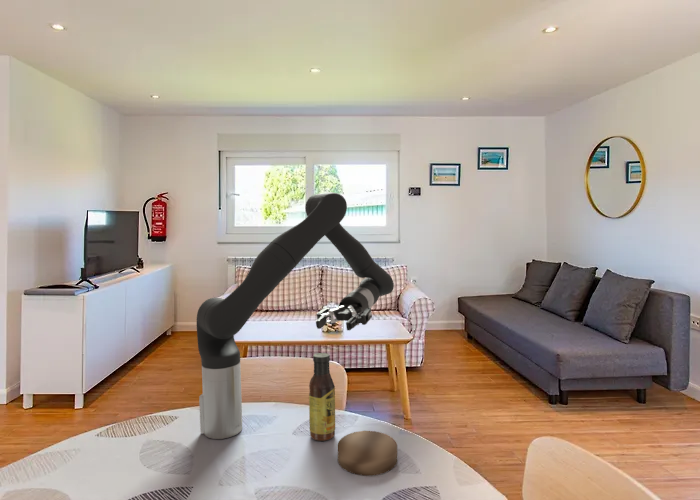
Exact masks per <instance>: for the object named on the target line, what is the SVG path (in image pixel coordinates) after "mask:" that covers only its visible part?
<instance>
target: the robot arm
mask: <svg viewBox="0 0 700 500" xmlns="http://www.w3.org/2000/svg"><path fill="white" fill-rule="evenodd" d="M304 208H305V213H306V217H305V219H303V220H302V221H300V222H299V223H298V224H296V225H294V226H293V227H291V228H290V229H288V230H286V231H284V232H282V233H280V235H278V236H277V237H275V238H274V239H273V240H272V241H271V242H270V243H268V245H267V246H266V247H264V249H262V251H261V252H259V254H258V255H257V256H256V258H255V259H254V261H253V262H252V265H251V267H250V268H249V271H248V273H247V275H246V277H245V278H244V279H243V281H242V282H241V283H240V285H238V286H237V288H235V289H234V290H233V291H232V292H231V293H230V294H229V295H228V296H226V297H225V298H222V297H211V298H207V299H206V300H204V301H203V302H202V303H201V305H199V307H198V310H197V313H196V335H197V337H196V338H197V349H198V354H199V356H200V361H201V378H202V379H201V381H202V383H201V387H202V394H200V395H199V396H198V398H199V399H198V401H199V402H198V403H199V427H200V434H202V435H204V436H205V437H206V438H207V439H208V438H209V439H213V440H222V439H228V438H231V437H234V436H236V435H238V434H240V433H241V431H242V430H243V405H242V403H243V401H242V371H241V369H242V368H241V352H240V349H239V347H238V345H237V344H236V340H235V335H237V334H238V333H240V330H242V328H243V327H245V326H244V325H246V323H247V322H248V321H249V319H250V318H251V317H252V316H253V315H254V312H255V311H256V310H257V309H258V308H259V306H260V305H261V304H262V302H263V301H265V299H266V298H267V297H268V296H270V294H271V293H272V292H273V291H274V290H275V289H276V288H277V287H278V285H279V284H280V283H281V282H283V281H284V280H285V278H286V277H288V275H289V274H291V272H292V271H293V270H294V269H295V268H296V267H297V265H299V263H300V262H301V261H302V260H303V259H304V258H305V256H307V254H308V253H309V252H310V251H311V250H312V249H313V248H314V247H315V246H316V245H317V244H318V242H320V240H321V239H323V238H324V237H325V238H327V239H328V241H330V243H331V244H332V245H333V246H334V247H335V249H337V251H338V252H339V253H340V255H341V256H342V257H343V258H344V260H345V261H346V263H347V264H348V266H349V267H350V269H351V270H352V271H353V272H354V274H355V275H356V276H357V277H358V278H361V281H360V282H359V285H358V287H357V288H355V289H353V290H351V292H349V293H348V294H347V295H345V296H344V297H343V298H342V299H341V300H340V302H339V304H338V306H337V307H333V308H332V309H331V307H330V306H325V307H323V308H322V309H321V310H320V311H318V312H316V320H315V326H316V328H317V330H320V329H322V328H323V327H324V326H325V325H327V324H329V323H331V324H334V323H337V322H344V321H345V322H346V323H345V325H346V331H351V330H352V329H354V328H355V327H356V326H359V325H360V324H361V325H363V326H365V325H367V324H368V322H369V321H370V320H371V319H372V318H373V314H372V307H373V306H374V305H375V304H376V303H377V301H379V298H380V297H383V296H387V295H389V294H391V293H392V292H393V291H394V288H395V287H394V286H395V285H394V280H393V278H392V275H390V274H389V273H388V272H387V271H386V270H385V269H383V268H382V267H381V266H380V265H379V264H378V263H376V262H375V261H374V259H373V258H372V256H371V255H370V253H369V251H368V250H367V249H366V248H365V247H364V245H363V244H362V243H361V242H360V241H359V240H358V239H357V238H355V237H354V236H353V235H352V234H351V233H350V232H348V231H347V230H346V229H345V228H344V226H343V225H342V224H341V222H342V221H343V219H344V218H345V216H346V213H347V211H348V210H347V209H348V204H347V200H346V198H345V197H344V196H343V195H341V194H340V193H337V192H331V191H330V192H322V193H316V194H313V195H311V196H309V197H308V198H307V200H306V202H305V206H304ZM334 317H335V318H334Z"/></svg>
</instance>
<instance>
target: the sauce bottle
mask: <svg viewBox="0 0 700 500" xmlns="http://www.w3.org/2000/svg"><path fill="white" fill-rule="evenodd" d="M330 360H331V357H330V354H329V353H326V352H318V353H314V354H313V356H312V362H313V375H312V376H311V378H310V381H309V386H308V387H309V394H308V406H309V407H308V410H309V412H308V413H309V414H308V415H309V418H308V419H309V432H310V433H309V435H310V437H311V439H312V440H314V441H319V442H324V441H329V440H332V439H333V438H334V436H335V432H336V390H335V389H336V386H335V384H334V382H333V379H332V375H331V371H330Z"/></svg>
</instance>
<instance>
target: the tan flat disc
mask: <svg viewBox="0 0 700 500" xmlns="http://www.w3.org/2000/svg"><path fill="white" fill-rule="evenodd" d="M337 462H338V465H339V466H340V467H341V468H342V469H343V470H344V471H346V472H348V473H350V474H353V475H356V476H366V477H367V476H368V477H372V476H380V475H383V474H387V473H388V472H390V471H391V470H393V469H394V468H395V467H396V465H397V463H398V444H397V441H396V440H395V438H394V437H392V436H390V435H388V434H387V433H384V432H381V431H380V432H379V431H375V430H374V431H373V430H359V431H354V432H351V433H348V434H346V435H344V436H343V437H341V438H340V439H339V441H338V442H337Z"/></svg>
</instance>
